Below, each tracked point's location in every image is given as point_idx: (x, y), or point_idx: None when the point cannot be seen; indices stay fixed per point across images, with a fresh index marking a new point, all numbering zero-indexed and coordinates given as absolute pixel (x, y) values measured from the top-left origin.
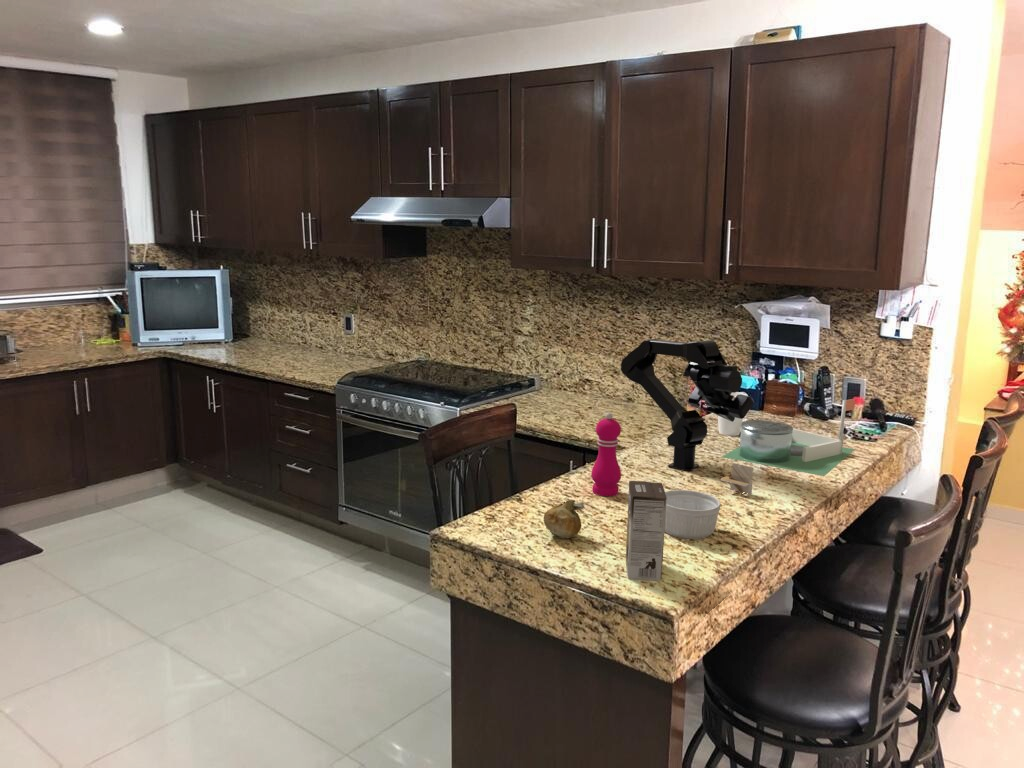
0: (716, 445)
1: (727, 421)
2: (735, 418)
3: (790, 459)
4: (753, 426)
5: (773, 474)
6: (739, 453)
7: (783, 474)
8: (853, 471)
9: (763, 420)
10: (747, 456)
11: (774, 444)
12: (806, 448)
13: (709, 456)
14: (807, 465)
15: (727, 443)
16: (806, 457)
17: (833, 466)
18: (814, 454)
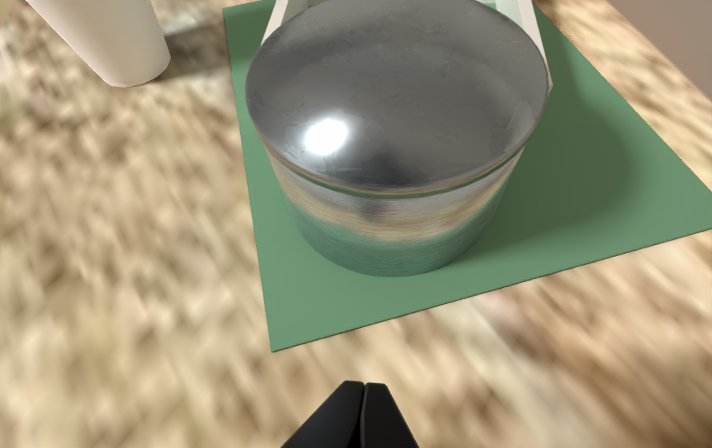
0: (161, 203)
1: (106, 37)
2: (127, 10)
3: None
4: (354, 130)
5: (634, 390)
6: (308, 242)
7: (649, 343)
8: (687, 91)
9: (307, 12)
10: (377, 271)
11: (506, 180)
12: (551, 84)
13: (217, 387)
14: (573, 156)
15: (184, 150)
16: None
17: (620, 100)
18: None
